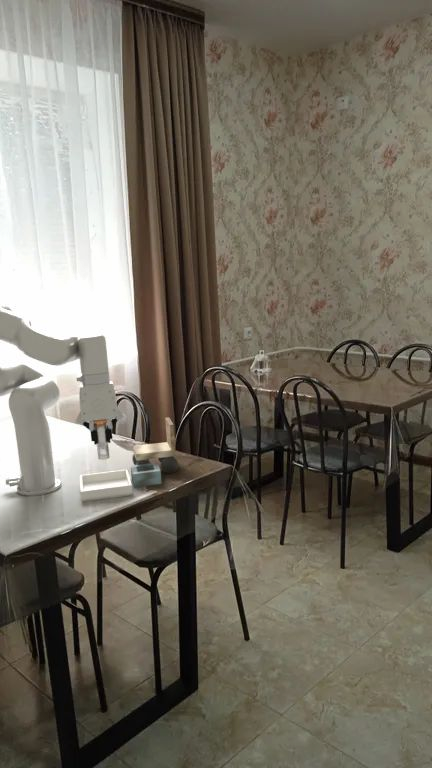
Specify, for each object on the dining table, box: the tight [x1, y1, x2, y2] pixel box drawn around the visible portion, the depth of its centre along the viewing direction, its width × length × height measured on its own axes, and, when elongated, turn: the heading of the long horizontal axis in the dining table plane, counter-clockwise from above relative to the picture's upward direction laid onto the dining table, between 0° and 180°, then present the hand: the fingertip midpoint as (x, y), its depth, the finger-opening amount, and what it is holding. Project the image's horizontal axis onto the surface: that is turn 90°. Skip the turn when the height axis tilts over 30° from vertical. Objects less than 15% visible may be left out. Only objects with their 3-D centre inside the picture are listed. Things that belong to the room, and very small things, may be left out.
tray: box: [79, 469, 133, 503], centre depth 181 cm, size 14×14×3 cm
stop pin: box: [94, 420, 110, 461], centre depth 179 cm, size 4×4×12 cm
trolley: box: [130, 417, 179, 488], centre depth 191 cm, size 14×19×15 cm
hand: (102, 441), depth 179 cm, fingers closed on stop pin, 3 cm apart
